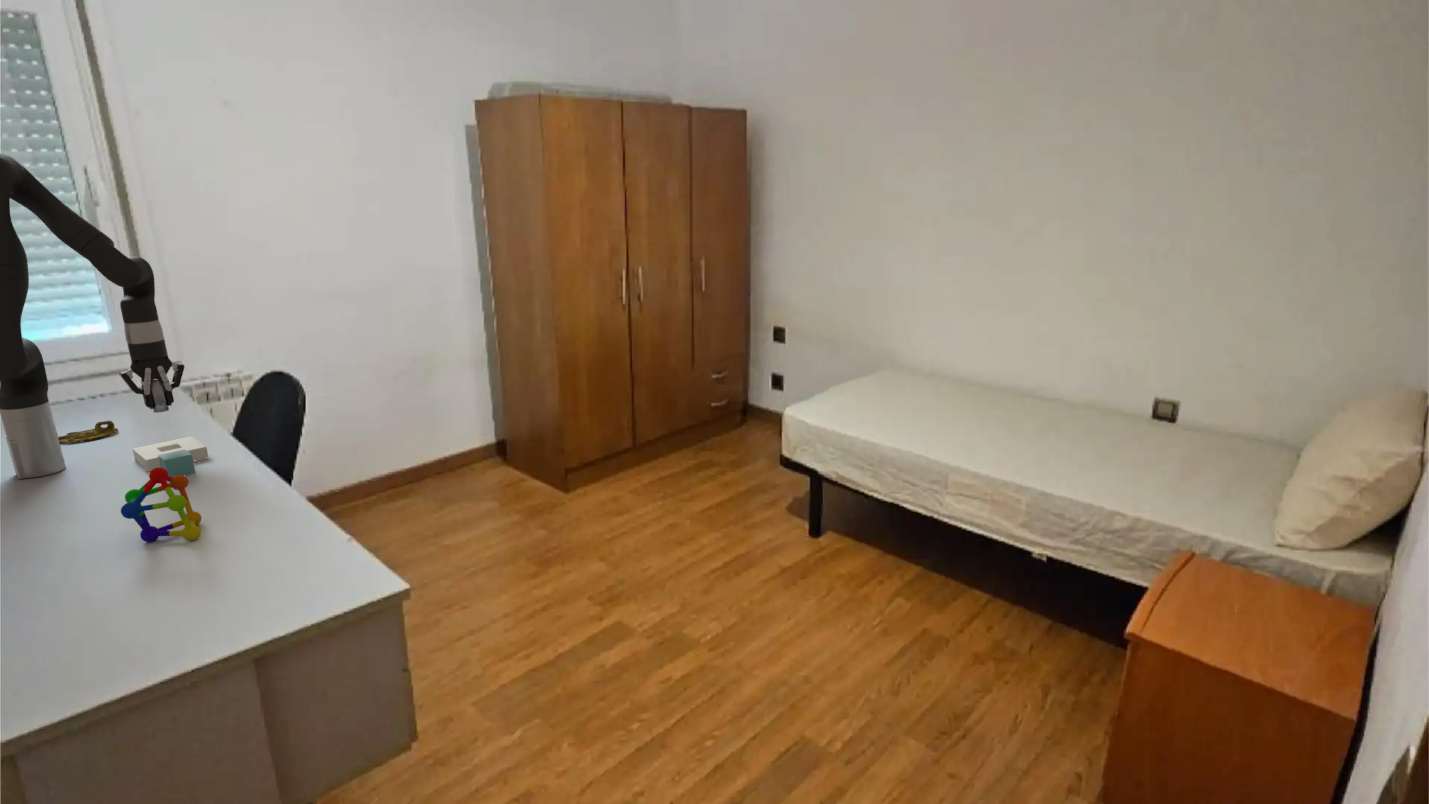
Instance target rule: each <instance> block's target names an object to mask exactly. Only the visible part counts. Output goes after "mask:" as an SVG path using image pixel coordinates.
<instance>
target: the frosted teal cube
mask: <svg viewBox="0 0 1429 804" xmlns="http://www.w3.org/2000/svg"><path fill="white" fill-rule="evenodd" d="M158 458H159V462H160V467H161V468H164V469H166V470H167V471H168V476H170V477H174V476H176V475H186V476H190V475H194V474H193V473H195V474H196V469H195V464H194V461H193V458H192V454H191V453H189V452H188V451H186V450H185V449H184V450H179V451H175V452H170V453H166V454H161V455H158Z"/></svg>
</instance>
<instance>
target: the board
mask: <svg viewBox="0 0 1429 804" xmlns="http://www.w3.org/2000/svg"><path fill="white" fill-rule="evenodd" d="M184 449H185V450H186V451H188V452H189V453H191V454H192V458H193V462H195V461H194V460H196V461H200V459H201V460H204V458H205V459H207V458H206V457H209V453H208V447H207V446H206V445H205V444H204V443H202V442H200V441H199V440H197V439H195V438H194V437H193V436H187V437H186V436H185V437H183V438H177V439H172V440H168V441H163V442H162V441H161V442H157V443H154V444H148V445H144V446H139V447H134V448H132V453H133V458H134V460H135V462H137V463H138V464H139V465H140V466H142V467H143V469H145V470H146V471H147V472H149V473H150V472H151V470H153V469H154V468H158V467H160V462H159V458H158V455H161V454H166V453H170V452H175V451H179V450H184Z"/></svg>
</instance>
